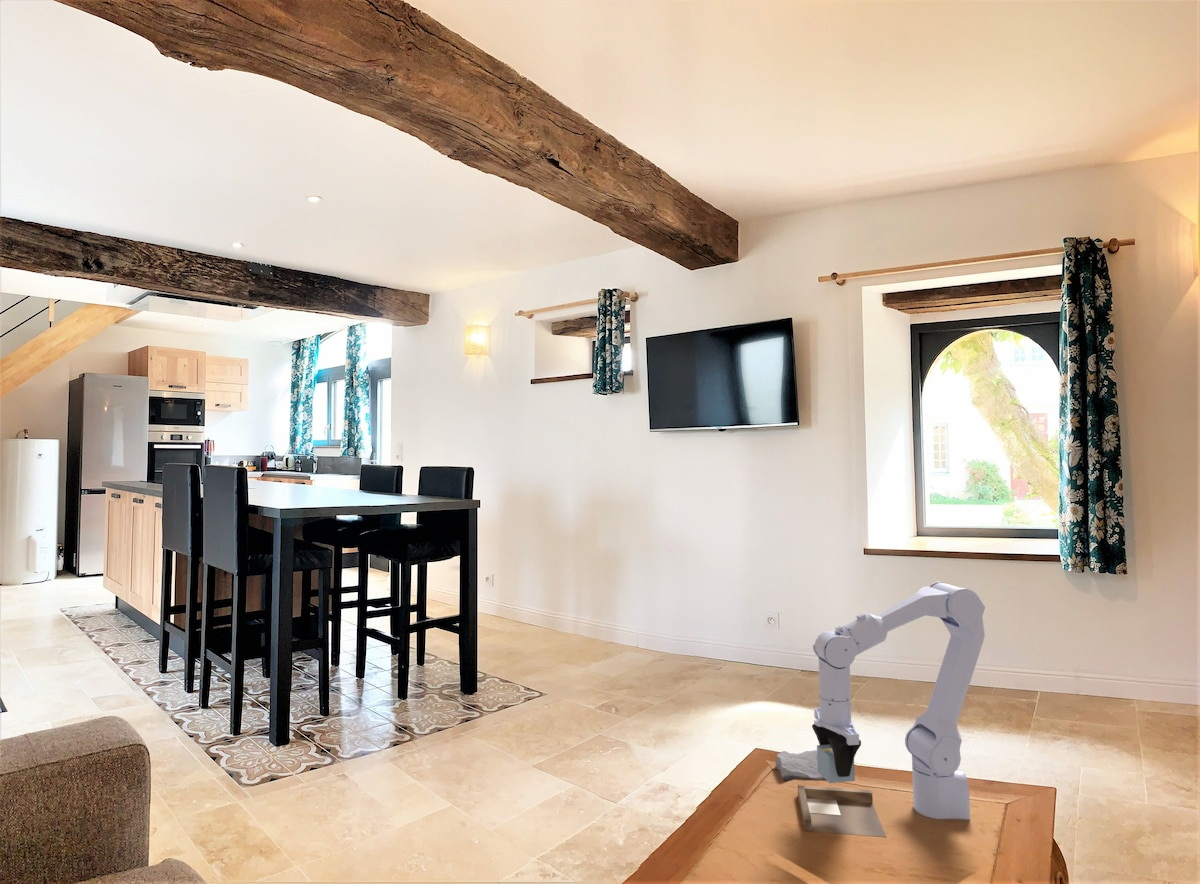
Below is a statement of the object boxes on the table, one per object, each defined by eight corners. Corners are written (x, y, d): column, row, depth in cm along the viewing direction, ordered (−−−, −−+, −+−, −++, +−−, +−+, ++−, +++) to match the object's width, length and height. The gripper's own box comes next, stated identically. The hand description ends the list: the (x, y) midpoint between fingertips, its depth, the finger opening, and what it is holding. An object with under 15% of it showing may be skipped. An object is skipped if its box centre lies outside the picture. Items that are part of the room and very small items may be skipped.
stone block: (839, 794, 148) (828, 765, 158) (839, 773, 148) (828, 745, 158) (782, 794, 150) (774, 766, 159) (781, 774, 149) (774, 746, 159)
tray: (871, 806, 139) (871, 790, 139) (886, 843, 125) (886, 825, 125) (798, 801, 141) (797, 785, 141) (804, 837, 127) (804, 819, 128)
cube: (842, 769, 136) (841, 743, 137) (854, 781, 131) (853, 753, 132) (817, 771, 136) (816, 744, 136) (829, 783, 131) (828, 755, 131)
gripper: (799, 686, 141) (800, 755, 140) (832, 710, 127) (834, 787, 126) (832, 684, 142) (834, 753, 141) (869, 708, 128) (871, 785, 127)
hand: (836, 769), depth 134 cm, fingers closed on cube, 5 cm apart
